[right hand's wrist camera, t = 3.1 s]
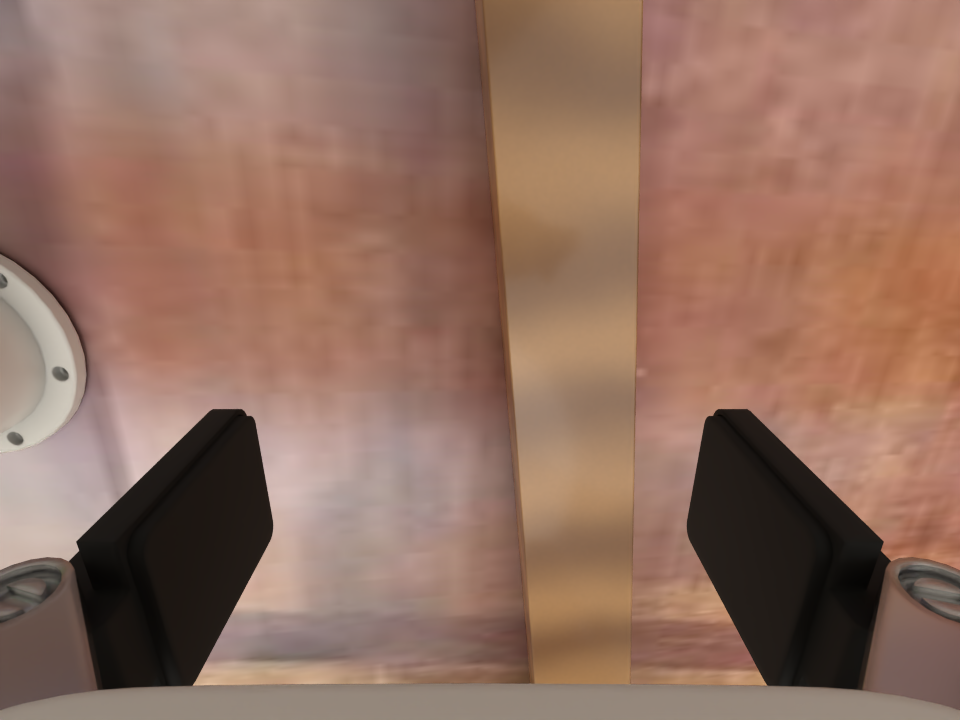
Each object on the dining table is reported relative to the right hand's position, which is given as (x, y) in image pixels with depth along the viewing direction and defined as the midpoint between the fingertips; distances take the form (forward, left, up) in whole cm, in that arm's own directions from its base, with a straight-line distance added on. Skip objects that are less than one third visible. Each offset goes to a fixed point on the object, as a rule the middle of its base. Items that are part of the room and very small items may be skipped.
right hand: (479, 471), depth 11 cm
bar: (+13, +1, -19) cm, 23 cm away
